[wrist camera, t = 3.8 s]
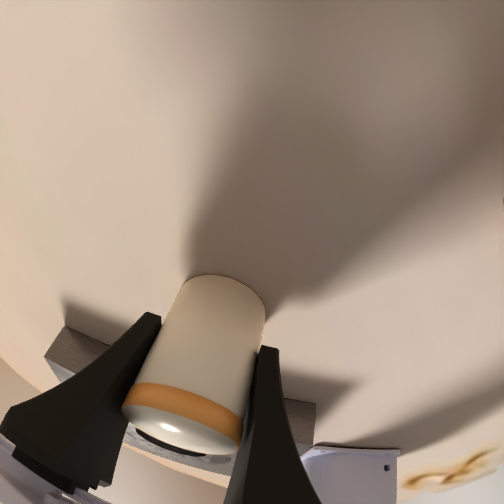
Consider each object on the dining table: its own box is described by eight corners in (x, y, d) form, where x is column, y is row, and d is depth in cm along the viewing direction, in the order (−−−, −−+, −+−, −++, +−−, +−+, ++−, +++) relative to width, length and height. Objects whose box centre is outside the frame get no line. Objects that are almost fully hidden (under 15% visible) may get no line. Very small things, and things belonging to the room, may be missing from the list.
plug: (276, 289, 12) (249, 433, 7) (256, 347, 14) (230, 461, 9) (178, 262, 12) (109, 388, 7) (177, 325, 14) (131, 430, 9)
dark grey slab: (316, 404, 17) (312, 445, 15) (262, 457, 27) (258, 481, 24) (64, 325, 18) (43, 356, 15) (107, 409, 27) (98, 430, 25)
